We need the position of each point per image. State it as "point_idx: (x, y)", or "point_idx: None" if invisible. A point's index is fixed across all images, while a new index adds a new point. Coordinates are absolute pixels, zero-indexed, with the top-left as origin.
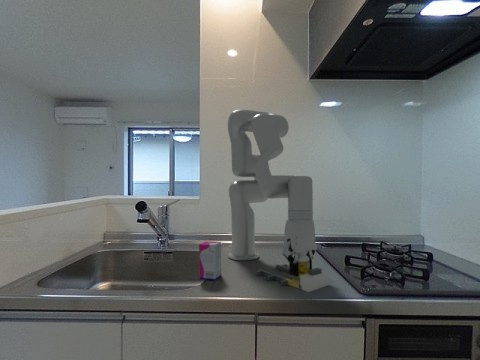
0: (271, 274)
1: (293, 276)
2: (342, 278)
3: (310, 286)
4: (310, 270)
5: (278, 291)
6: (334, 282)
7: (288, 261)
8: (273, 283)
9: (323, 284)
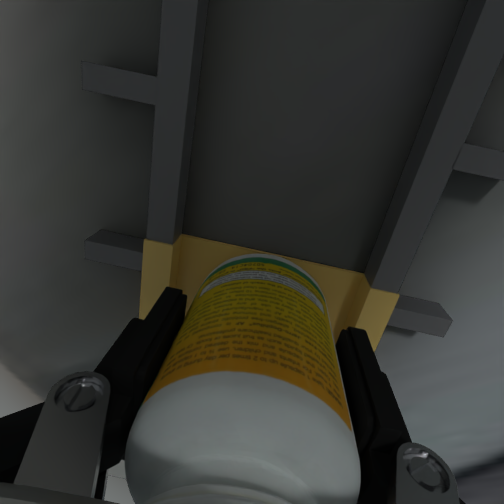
0: (159, 53)
1: (193, 300)
2: (487, 453)
3: None
4: None
5: (18, 277)
6: None
7: (68, 383)
8: (88, 164)
9: None
